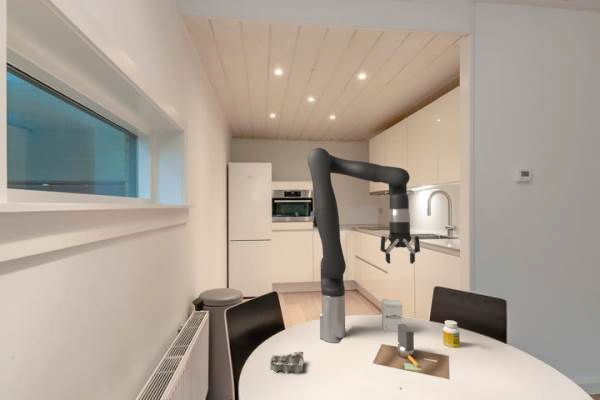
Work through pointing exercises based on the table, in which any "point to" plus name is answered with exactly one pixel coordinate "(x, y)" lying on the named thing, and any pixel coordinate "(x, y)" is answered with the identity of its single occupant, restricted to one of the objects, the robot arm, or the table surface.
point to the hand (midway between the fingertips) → (400, 263)
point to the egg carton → (284, 359)
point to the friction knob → (406, 343)
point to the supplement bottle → (451, 334)
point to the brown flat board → (426, 360)
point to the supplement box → (391, 315)
